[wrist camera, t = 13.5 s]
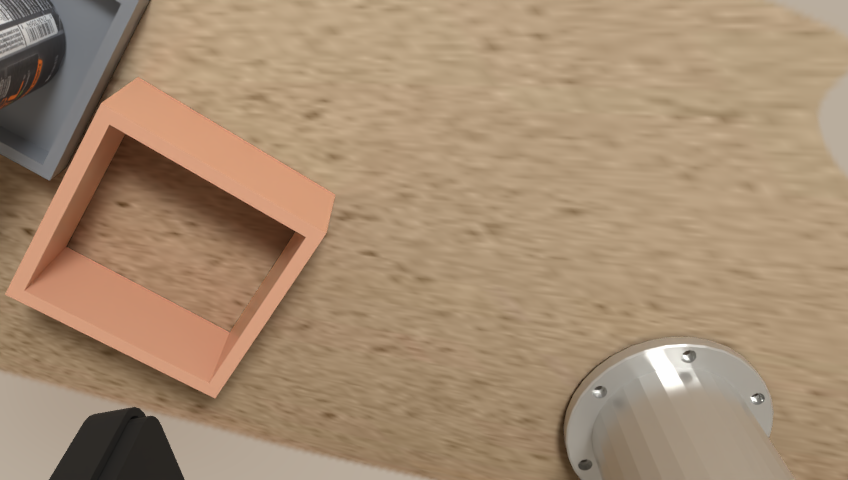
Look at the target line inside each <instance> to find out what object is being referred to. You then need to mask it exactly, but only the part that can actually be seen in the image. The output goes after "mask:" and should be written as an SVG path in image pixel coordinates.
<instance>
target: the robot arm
mask: <svg viewBox="0 0 848 480" xmlns="http://www.w3.org/2000/svg"><path fill="white" fill-rule="evenodd" d="M773 413H774V412H773V406H772V400H771V396H770V393H769V391H768V389H767V386H766V384H765V382H764V381H763V379H762V378H761V376H760V375H759V374H758V372H757V371H756V369H755V368H754V367H753V366H752V365H751V364H750V363H749V362H748V361H747V360H746V359H745V358H744V357H743V356H742V355H740V354H739V353H737V352H735V351H734V350H732V349H731V348H729V347H727V346H724V345H722V344H719V343H716V342H714V341H711V340H706V339H700V338H695V337H667V338H661V339H654V340H649V341H646V342H643V343H640V344H637V345H634V346H631V347H629V348H627V349H625V350H623V351H621V352H619V353H617V354H615V355H613V356H611V357H610V358H608V359H607V360H606V361H604V362H603V363H601V364H600V365H599V366H597V367H596V368H595V369H594V370H593V371H592V372H591V373H590V374H589V375H588V376H587V377H586V378H585V379H584V380H583V381H582V383H581V384H580V386H579V387H578V389H577V390H576V392H575V393H574V395H573V396H572V399H571V401H570V404H569V406H568V408H567V411H566V416H565V421H564V442H565V446H566V450H567V454H568V458H569V460H570V463H571V465H572V467H573V469H574V471H575V473H576V474H577V475H578V477H579V478H580V479H581V480H796V479H795V478H794V476H793V475H792V473H791V471H790V470H789V468H788V467H787V465H786V464H785V462H784V461H783V459H782V458H781V456H780V455H779V453H778V452H777V450H776V449H775V447H774V445H773V444H772V442H771V441H770V439H769V436H770V433H771V430H772V424H773ZM49 480H184V477H183V475H182V473H181V470H180V468H179V466H178V463H177V461H176V459H175V456H174V454H173V452H172V449H171V447H170V445H169V442H168V440H167V438H166V435H165V433H164V431H163V428H162V426H161V424H160V422H159V420H158V419H157V418H156V417H154V416H147V417H146V416H145V414H144V412H142V411H141V410H140V409H139V408H136V407H132V408H126V409H121V410H115V411H110V412H105V413H98V414H94V415H91V416H89V417H88V418H87V419H86V420H85V422H84V423H83V425H82V426H81V428H80V430H79V431H78V433H77V434H76V436H75V438H74V439H73V441H72V443H71V444H70V446H69V448H68V449H67V451H66V453H65V454H64V456H63V458H62V459H61V461H60V463H59V464H58V466H57V468H56V469H55V471H54V473H53V474H52V476H51V477H50V479H49Z"/></svg>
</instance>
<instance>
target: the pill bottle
mask: <svg viewBox="0 0 848 480" xmlns="http://www.w3.org/2000/svg"><path fill="white" fill-rule="evenodd" d="M64 53H65V33H64V28H63V24H62V21H61V19H60V16H59V14H58V12H57V10H56V8H55V7H54V5H53V3H52V2H51V1H50V0H0V110H1V109H2V108H4V107H6V106H8V105H10V104H12V103H13V102H15V101H17V100H19V99H21V98H22V97H24V96H26V95H28V94H30V93H32V92H33V91H35V90H37V89H39V88H41V87H43V86H44V85H45V84H47V83H48V82H49V81H50V80H51V79H52V78H53V77H54V76H55V74H56V73H57V71H58V70H59V67H60V65H61V62H62V60H63V57H64Z"/></svg>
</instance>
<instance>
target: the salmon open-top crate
mask: <svg viewBox="0 0 848 480" xmlns="http://www.w3.org/2000/svg"><path fill="white" fill-rule="evenodd" d="M125 134H127V135H129V136H130V137H132V138H134V139H136V140H137V141H139V142H141V143H143V144H144V145H146V146H148V147H150V148H151V149H153V150H155V151H157V152H158V153H160V154H162V155H163V156H165V157H167V158H169V159H170V160H172V161H174V162H176V163H177V164H179V165H181V166H183V167H184V168H186V169H188V170H190V171H191V172H193V173H195V174H197V175H198V176H200V177H202V178H204V179H205V180H207V181H209V182H211V183H212V184H214V185H216V186H217V187H219V188H221V189H223V190H224V191H226V192H228V193H230V194H231V195H233V196H235V197H237V198H238V199H240V200H242V201H244V202H245V203H247V204H249V205H251V206H252V207H254V208H256V209H258V210H259V211H261V212H263V213H265V214H266V215H268V216H270V217H271V218H273V219H275V220H277V221H278V222H280V223H282V224H284V225H285V226H287V227H289V228H291V229H292V230H294V231H296V232H295V233H294V235H293V236H292V238H291V239H290V241H289V242H288V244H287V245H286V247H285V248H284V250H283V252H282V253H281V255H280V256H279V258H278V259H277V261H276V262H275V264H274V265H273V267H272V268H271V270H270V271H269V273H268V274H267V276H266V277H265V279H264V281H263V282H262V284H261V285H260V287H259V288H258V290H257V291H256V293H255V294H254V296H253V297H252V299H251V300H250V302H249V303H248V305H247V307H246V308H245V310H244V311H243V313H242V314H241V316H240V317H239V319H238V320H237V322H236V323H235V325H234V326H233V328H232V329H231V331H230V332H228V331H226V330H224V329H223V328H221V327H219V326H217V325H215V324H213V323H211V322H209V321H207V320H205V319H203V318H201V317H200V316H198V315H196V314H194V313H192V312H190V311H188V310H186V309H184V308H182V307H180V306H179V305H177V304H175V303H173V302H171V301H169V300H167V299H165V298H163V297H161V296H159V295H158V294H156V293H154V292H152V291H150V290H148V289H146V288H144V287H142V286H140V285H138V284H136V283H135V282H133V281H131V280H129V279H127V278H125V277H123V276H121V275H119V274H117V273H115V272H114V271H112V270H110V269H108V268H106V267H104V266H102V265H100V264H98V263H96V262H94V261H93V260H91V259H89V258H87V257H85V256H83V255H81V254H79V253H77V252H75V251H73V250H72V249H70V248H68V247H66V246H67V244H68V242H69V240H70V238H71V237H72V235H73V233H74V231H75V229H76V227H77V225H78V223H79V221H80V219H81V217H82V216H83V214H84V212H85V210H86V208H87V206H88V204H89V202H90V200H91V198H92V196H93V195H94V193H95V191H96V189H97V187H98V185H99V183H100V181H101V179H102V177H103V175H104V174H105V172H106V170H107V168H108V166H109V164H110V162H111V160H112V158H113V156H114V155H115V153H116V151H117V149H118V147H119V145H120V143H121V141H122V139H123V137H124V135H125ZM334 199H335V194H333V193H332V192H330V191H328V190H327V189H325V188H323V187H322V186H320V185H318V184H316V183H315V182H313V181H311V180H310V179H308V178H306V177H305V176H303V175H301V174H300V173H298V172H296V171H295V170H293V169H291V168H290V167H288V166H286V165H285V164H283V163H281V162H280V161H278V160H276V159H275V158H273V157H271V156H270V155H268V154H266V153H265V152H263V151H261V150H260V149H258V148H256V147H254V146H253V145H251V144H249V143H248V142H246V141H244V140H243V139H241V138H239V137H238V136H236V135H234V134H233V133H231V132H229V131H228V130H226V129H224V128H223V127H221V126H219V125H218V124H216V123H214V122H213V121H211V120H209V119H208V118H206V117H204V116H203V115H201V114H199V113H197V112H196V111H194V110H192V109H191V108H189V107H187V106H186V105H184V104H182V103H181V102H179V101H177V100H176V99H174V98H172V97H171V96H169V95H167V94H166V93H164V92H162V91H161V90H159V89H157V88H156V87H154V86H152V85H151V84H149V83H147V82H146V81H144V80H142V79H140V78H139V77H137V78H136V79H135V80H133V81H132V82H130V83H129V84H127V85H126V86H125V87H123V88H122V89H120V90H119V91H118V92H116V93H115V94H113V95H112V96H110V97H109V98H108V99H106V100H105V101H103V102H102V103H101V104H100V106H99V108H98V110H97V112H96V114H95V116H94V118H93V120H92V122H91V124H90V126H89V128H88V130H87V132H86V134H85V136H84V138H83V140H82V142H81V144H80V146H79V148H78V150H77V152H76V154H75V156H74V158H73V160H72V162H71V164H70V166H69V168H68V170H67V172H66V174H65V176H64V178H63V180H62V182H61V184H60V186H59V188H58V190H57V192H56V194H55V196H54V198H53V200H52V202H51V204H50V206H49V208H48V210H47V212H46V214H45V216H44V218H43V220H42V222H41V224H40V226H39V228H38V230H37V232H36V234H35V236H34V238H33V240H32V242H31V244H30V246H29V248H28V250H27V252H26V254H25V256H24V258H23V260H22V262H21V264H20V266H19V268H18V270H17V272H16V274H15V276H14V278H13V280H12V281H11V283H10V285H9V287H8V289H7V291H6V293H5V295H7V296H9V297H11V298H13V299H15V300H17V301H19V302H21V303H23V304H25V305H28V306H30V307H32V308H34V309H36V310H38V311H40V312H42V313H44V314H46V315H48V316H50V317H52V318H54V319H56V320H58V321H60V322H62V323H64V324H66V325H68V326H70V327H72V328H74V329H76V330H78V331H80V332H82V333H84V334H86V335H88V336H90V337H92V338H94V339H96V340H98V341H100V342H102V343H104V344H106V345H108V346H110V347H112V348H114V349H116V350H118V351H120V352H122V353H124V354H126V355H128V356H130V357H132V358H134V359H136V360H138V361H140V362H142V363H144V364H146V365H148V366H150V367H152V368H154V369H156V370H158V371H161V372H163V373H165V374H167V375H169V376H171V377H173V378H175V379H177V380H179V381H181V382H183V383H185V384H187V385H189V386H191V387H193V388H195V389H197V390H199V391H201V392H203V393H205V394H207V395H209V396H211V397H213V398H216V396H217V395H218V393H219V392H220V390H221V389H222V387H223V386H224V384H225V383H226V382H227V380H228V379H229V377H230V376H231V374H232V373H233V371H234V370H235V368H236V367H237V365H238V364H239V362H240V361H241V359H242V358H243V356H244V355H245V353H246V352H247V350H248V349H249V347H250V346H251V344H252V343H253V341H254V340H255V338H256V337H257V335H258V334H259V333H260V331H261V330H262V328H263V327H264V325H265V324H266V322H267V321H268V319H269V318H270V316H271V315H272V313H273V312H274V310H275V309H276V307H277V306H278V304H279V303H280V301H281V300H282V298H283V297H284V295H285V294H286V292H287V291H288V289H289V288H290V286H291V285H292V284H293V282H294V281H295V279H296V278H297V276H298V275H299V273H300V272H301V270H302V269H303V267H304V266H305V264H306V263H307V261H308V260H309V258H310V257H311V255H312V254H313V252H314V251H315V249H316V248H317V246H318V245H319V243H320V242H321V240H322V239H323V237H324V236H325V235H326V232H327V228H328V224H329V220H330V215H331V211H332V207H333V203H334Z"/></svg>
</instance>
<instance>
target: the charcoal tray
mask: <svg viewBox="0 0 848 480" xmlns="http://www.w3.org/2000/svg"><path fill="white" fill-rule="evenodd" d="M50 1H51V2H52V3H53V5H54V7H55V8H56V10H57V12H58V14H59V16H60V19H61V21H62V24H63V28H64V33H65V53H64V57H63V60H62V62H61V65H60V67H59V70H58V71H57V73H56V74H55V76H54V77H53V78H52V79H51V80H50V81H49V82H48V83H47V84H45V85H44V86H43V87H41V88H39V89H37V90H35V91H33V92H32V93H30V94H28V95H26V96H24V97H22V98H21V99H19V100H17V101H15V102H13V103H12V104H10V105H8V106H6V107H4V108H2V109H1V110H0V154H1V155H3V156H5V157H7V158H9V159H10V160H12V161H14V162H16V163H18V164H20V165H22V166H23V167H25V168H27V169H29V170H31V171H33V172H34V173H36V174H38V175H40V176H42V177H44V178H45V179H47V180H49V181H50V180H51V179H52V178H54V177H55V176H56V175H57V174H59V173H60V172H61V171H62V170H63V169H65V168H66V167H67V165H68V163H69V161H70V159H71V157H72V155H73V153H74V151H75V149H76V147H77V145H78V143H79V141H80V139H81V137H82V135H83V133H84V131H85V129H86V127H87V125H88V123H89V121H90V119H91V117H92V115H93V113H94V111H95V109H96V107H97V105H98V103H99V101H100V99H101V97H102V95H103V93H104V91H105V89H106V87H107V85H108V83H109V81H110V79H111V77H112V75H113V73H114V71H115V69H116V67H117V65H118V63H119V61H120V59H121V57H122V55H123V53H124V51H125V49H126V47H127V45H128V43H129V41H130V39H131V37H132V35H133V33H134V31H135V29H136V27H137V25H138V23H139V21H140V19H141V17H142V15H143V13H144V11H145V9H146V7H147V5H148V3H149V1H150V0H50Z"/></svg>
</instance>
